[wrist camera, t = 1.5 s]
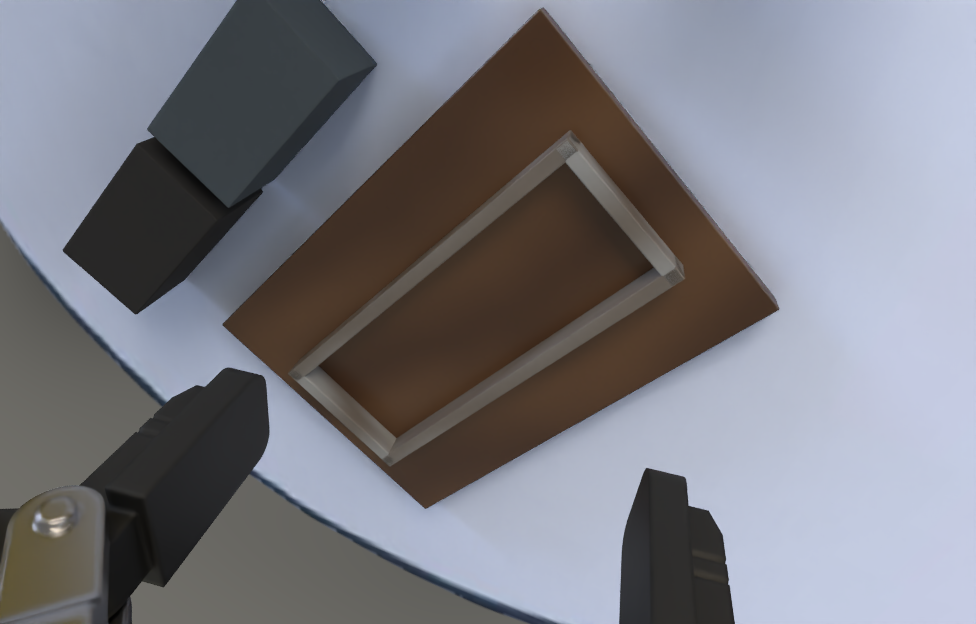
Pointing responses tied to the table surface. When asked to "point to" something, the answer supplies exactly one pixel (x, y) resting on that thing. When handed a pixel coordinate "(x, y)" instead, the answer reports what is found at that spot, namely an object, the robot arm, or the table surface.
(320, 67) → the pad
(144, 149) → the pad
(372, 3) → the table surface
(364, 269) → the mount board
